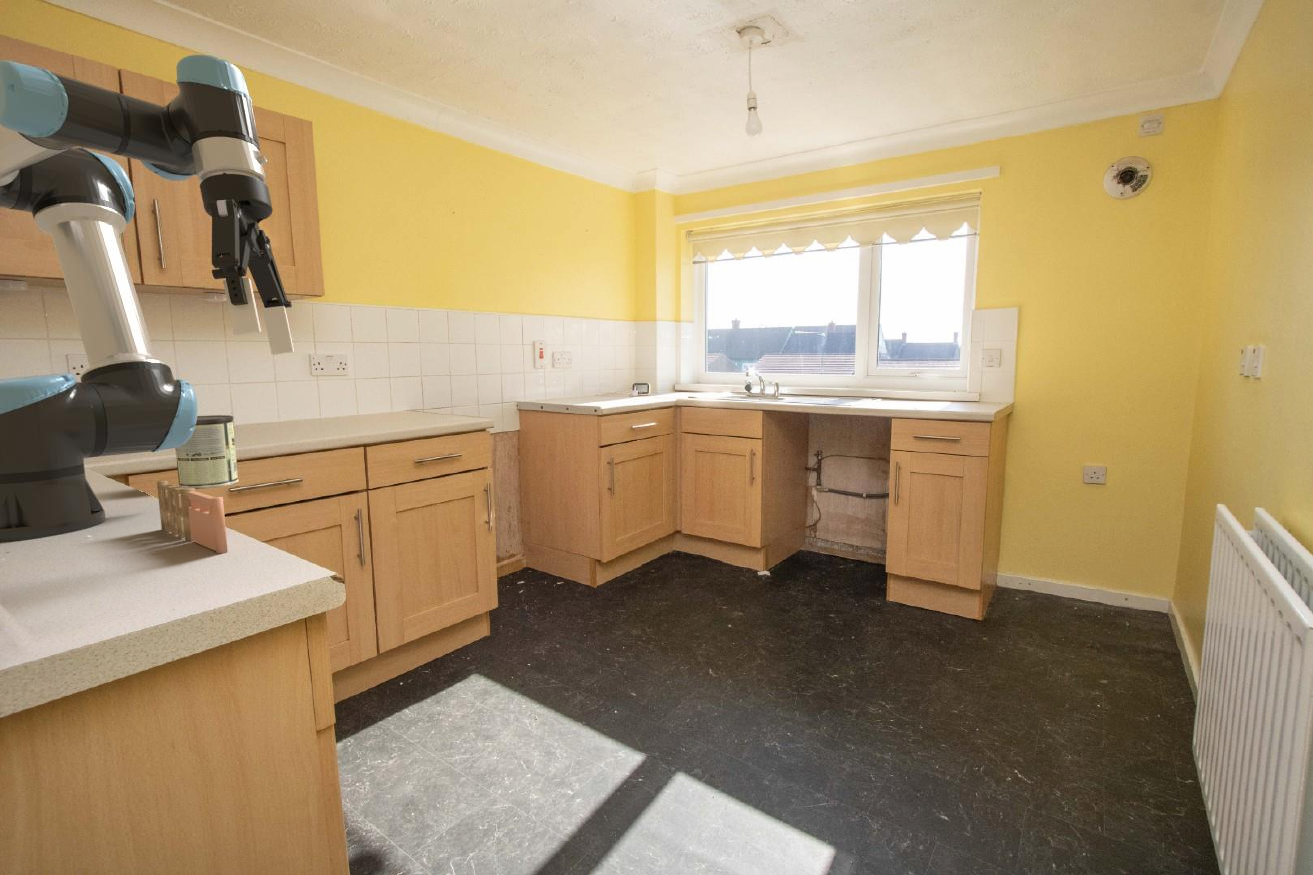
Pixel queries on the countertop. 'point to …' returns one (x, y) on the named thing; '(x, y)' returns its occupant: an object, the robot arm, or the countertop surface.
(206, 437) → the coffee can
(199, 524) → the fence gate
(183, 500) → the fence anchor
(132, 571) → the countertop surface
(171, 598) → the countertop surface
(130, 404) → the robot arm
